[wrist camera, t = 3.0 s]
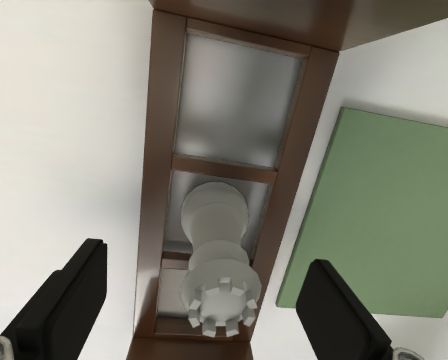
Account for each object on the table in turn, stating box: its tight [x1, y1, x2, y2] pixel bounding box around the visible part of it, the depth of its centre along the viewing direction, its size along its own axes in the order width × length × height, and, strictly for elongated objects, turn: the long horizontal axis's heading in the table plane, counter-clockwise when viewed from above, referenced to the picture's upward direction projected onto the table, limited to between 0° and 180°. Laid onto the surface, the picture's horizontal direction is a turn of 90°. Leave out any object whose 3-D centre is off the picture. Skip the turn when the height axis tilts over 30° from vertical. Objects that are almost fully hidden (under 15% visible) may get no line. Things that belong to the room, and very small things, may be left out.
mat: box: [276, 107, 448, 318], centre depth 18 cm, size 16×16×1 cm
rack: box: [126, 0, 448, 360], centre depth 12 cm, size 9×23×8 cm, turn 170°
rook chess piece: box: [180, 182, 262, 337], centre depth 12 cm, size 4×4×8 cm
